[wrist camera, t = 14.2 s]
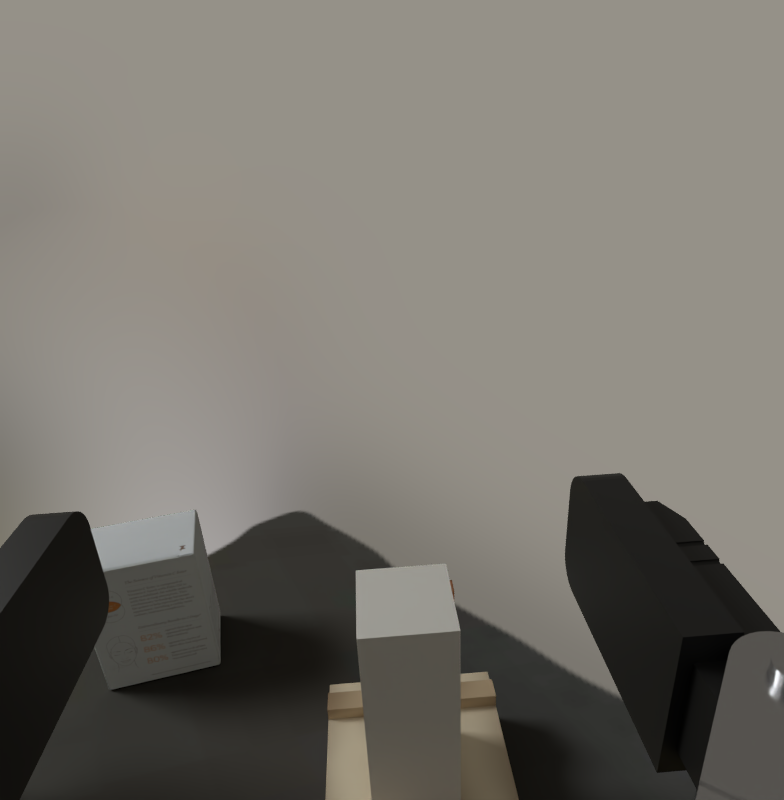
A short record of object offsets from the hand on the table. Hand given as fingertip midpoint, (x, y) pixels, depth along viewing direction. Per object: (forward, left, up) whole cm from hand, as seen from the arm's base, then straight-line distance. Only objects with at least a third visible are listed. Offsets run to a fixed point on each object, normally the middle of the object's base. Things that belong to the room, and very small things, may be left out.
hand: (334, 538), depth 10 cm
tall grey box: (+2, +14, -26) cm, 30 cm away
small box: (-16, +28, -30) cm, 44 cm away
